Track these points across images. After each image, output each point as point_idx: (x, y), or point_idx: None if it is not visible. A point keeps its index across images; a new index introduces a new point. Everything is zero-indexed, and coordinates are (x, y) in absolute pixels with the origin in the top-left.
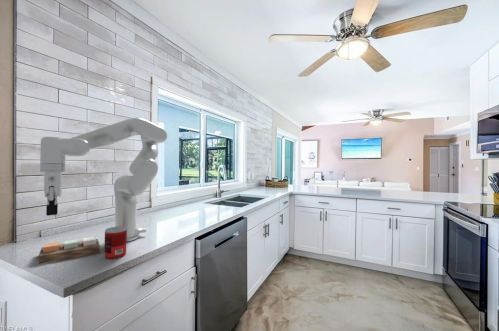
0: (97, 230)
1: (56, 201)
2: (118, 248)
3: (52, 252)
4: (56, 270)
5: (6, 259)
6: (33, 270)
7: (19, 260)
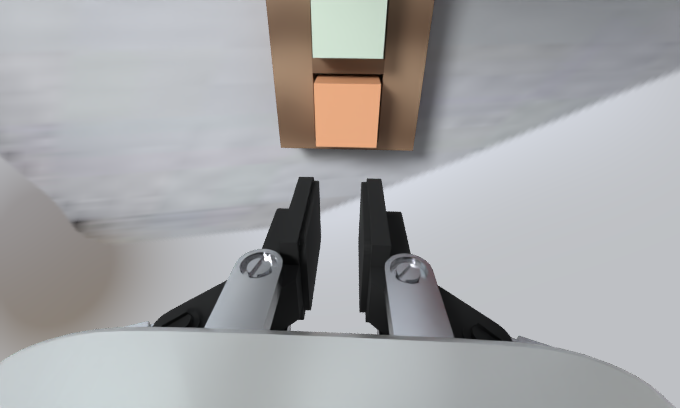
0: None
1: (417, 293)
2: None
3: (398, 103)
4: (538, 73)
5: None
6: (465, 146)
7: None
